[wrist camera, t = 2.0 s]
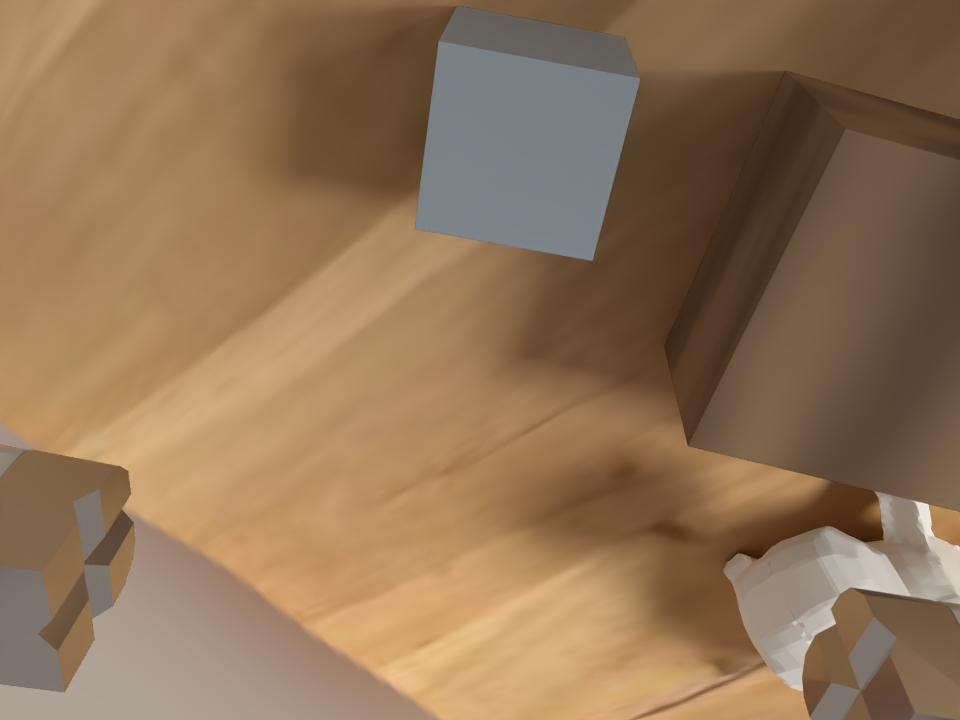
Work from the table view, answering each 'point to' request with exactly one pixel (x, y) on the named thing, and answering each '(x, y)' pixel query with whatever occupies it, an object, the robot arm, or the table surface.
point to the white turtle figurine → (837, 579)
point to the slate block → (524, 132)
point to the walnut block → (833, 299)
